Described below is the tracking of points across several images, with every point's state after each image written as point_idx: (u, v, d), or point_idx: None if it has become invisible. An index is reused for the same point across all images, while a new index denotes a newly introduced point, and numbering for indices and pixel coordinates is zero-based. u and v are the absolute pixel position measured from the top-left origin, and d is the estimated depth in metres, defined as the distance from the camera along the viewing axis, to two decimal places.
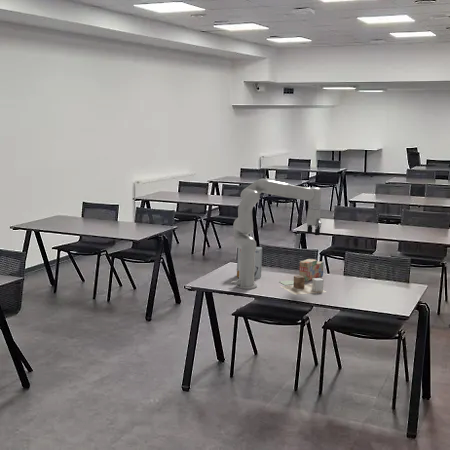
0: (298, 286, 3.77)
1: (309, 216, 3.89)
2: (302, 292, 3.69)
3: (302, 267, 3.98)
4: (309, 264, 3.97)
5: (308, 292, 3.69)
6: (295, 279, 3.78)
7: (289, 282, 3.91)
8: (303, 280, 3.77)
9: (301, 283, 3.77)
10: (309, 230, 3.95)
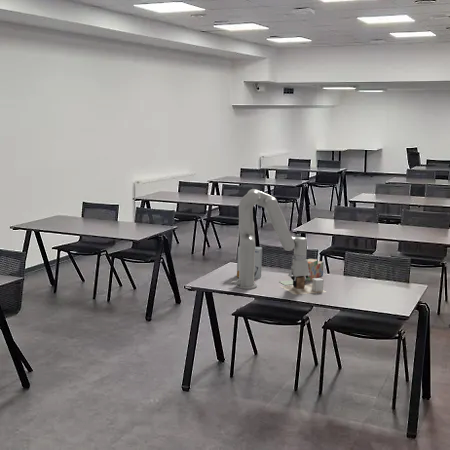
0: (298, 286, 3.77)
1: (300, 267, 3.75)
2: (302, 292, 3.69)
3: None
4: (311, 264, 3.97)
5: (308, 292, 3.69)
6: None
7: (289, 282, 3.91)
8: (303, 280, 3.77)
9: (301, 283, 3.77)
10: None
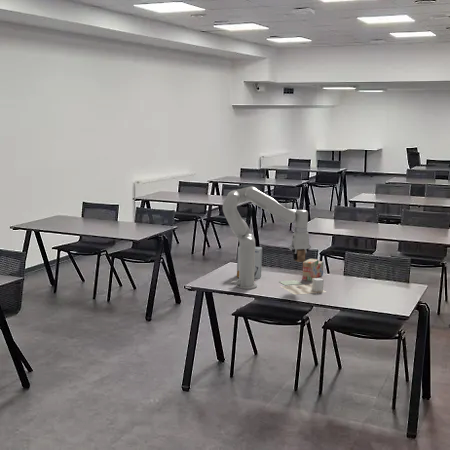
0: (299, 259, 3.74)
1: (301, 240, 3.72)
2: (302, 292, 3.69)
3: (305, 267, 3.98)
4: (312, 264, 3.97)
5: (308, 292, 3.69)
6: None
7: (289, 282, 3.91)
8: (304, 253, 3.75)
9: (302, 256, 3.74)
10: None
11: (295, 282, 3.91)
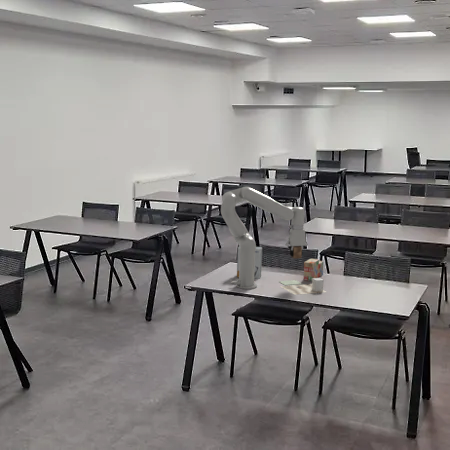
0: (295, 256, 3.79)
1: (297, 237, 3.77)
2: (302, 292, 3.69)
3: (307, 267, 3.97)
4: (314, 264, 3.97)
5: (308, 292, 3.69)
6: None
7: (289, 282, 3.91)
8: (300, 250, 3.79)
9: (298, 253, 3.79)
10: None
11: (295, 282, 3.91)
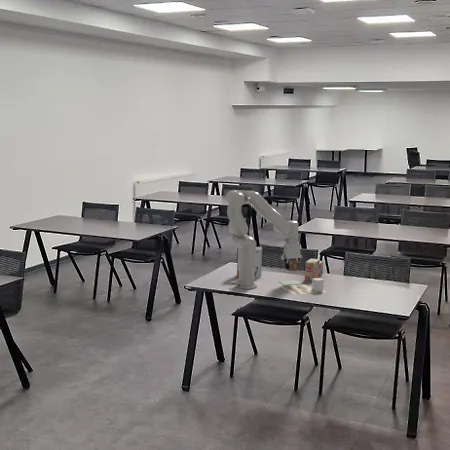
0: (290, 268, 3.87)
1: (292, 250, 3.85)
2: (302, 292, 3.69)
3: (308, 267, 3.97)
4: (315, 264, 3.97)
5: (308, 292, 3.69)
6: (288, 262, 3.88)
7: (289, 282, 3.91)
8: (295, 262, 3.87)
9: (294, 265, 3.87)
10: None
11: (295, 282, 3.91)
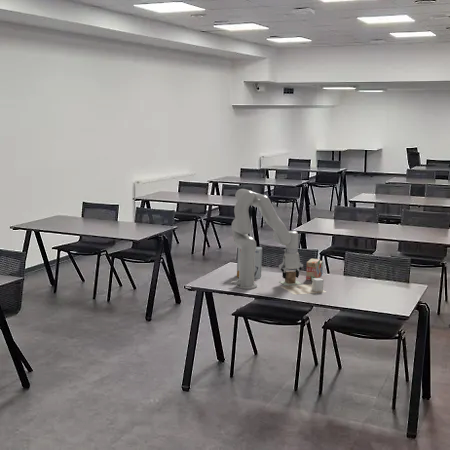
0: (289, 281, 3.88)
1: (291, 261, 3.86)
2: (302, 292, 3.69)
3: (309, 267, 3.97)
4: (316, 264, 3.97)
5: (308, 292, 3.69)
6: (286, 274, 3.89)
7: None
8: (294, 275, 3.88)
9: (292, 278, 3.88)
10: None
11: None
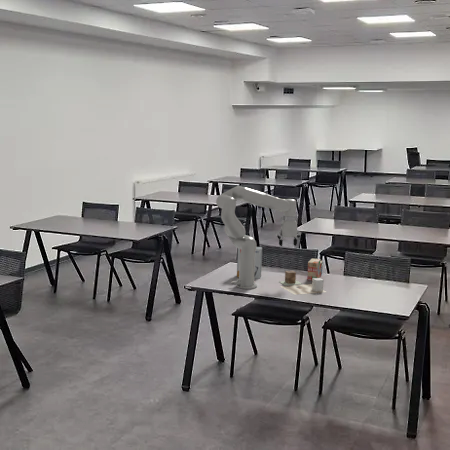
0: (289, 281, 3.88)
1: (289, 228, 3.84)
2: (302, 292, 3.69)
3: (311, 267, 3.97)
4: (317, 264, 3.98)
5: (308, 292, 3.69)
6: (286, 274, 3.89)
7: None
8: (294, 275, 3.88)
9: (292, 278, 3.88)
10: None
11: None
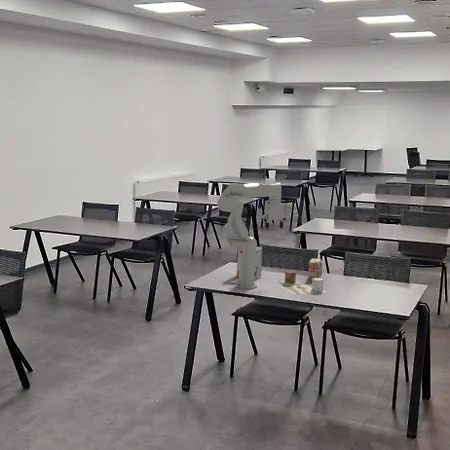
0: (289, 281, 3.88)
1: (275, 211, 3.92)
2: (302, 292, 3.69)
3: (312, 267, 3.98)
4: (318, 264, 3.98)
5: (308, 292, 3.69)
6: (286, 274, 3.89)
7: None
8: (294, 275, 3.88)
9: (292, 278, 3.88)
10: None
11: None
